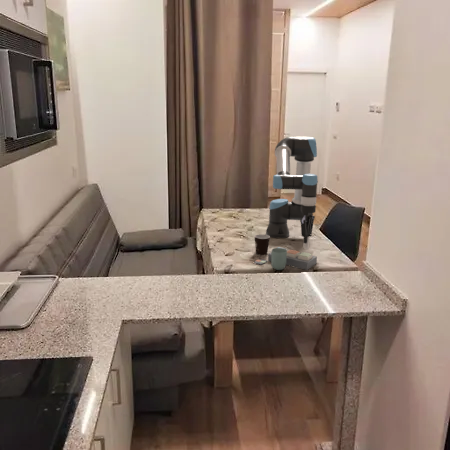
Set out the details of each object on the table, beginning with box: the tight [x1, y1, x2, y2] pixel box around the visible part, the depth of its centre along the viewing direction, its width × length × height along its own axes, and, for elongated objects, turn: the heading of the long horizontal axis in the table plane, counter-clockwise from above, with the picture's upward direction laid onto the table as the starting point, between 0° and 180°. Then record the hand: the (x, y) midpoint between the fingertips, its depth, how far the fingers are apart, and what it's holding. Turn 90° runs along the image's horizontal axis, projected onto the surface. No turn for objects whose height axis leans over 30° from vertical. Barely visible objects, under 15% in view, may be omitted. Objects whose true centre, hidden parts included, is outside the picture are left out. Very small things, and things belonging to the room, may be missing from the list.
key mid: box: [287, 249, 301, 258], centre depth 241 cm, size 6×6×4 cm
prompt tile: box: [253, 258, 268, 266], centre depth 241 cm, size 6×5×1 cm
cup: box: [270, 247, 288, 271], centre depth 231 cm, size 8×8×10 cm
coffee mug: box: [254, 234, 271, 256], centre depth 256 cm, size 12×9×10 cm
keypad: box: [267, 249, 318, 271], centre depth 242 cm, size 12×23×4 cm, turn 55°
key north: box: [298, 251, 314, 261], centre depth 237 cm, size 6×6×4 cm
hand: (305, 248), depth 235 cm, fingers closed
